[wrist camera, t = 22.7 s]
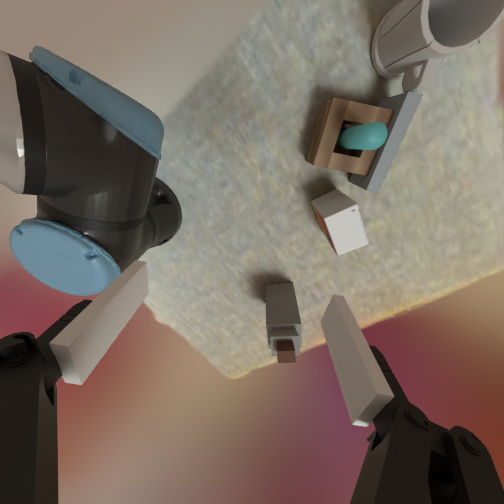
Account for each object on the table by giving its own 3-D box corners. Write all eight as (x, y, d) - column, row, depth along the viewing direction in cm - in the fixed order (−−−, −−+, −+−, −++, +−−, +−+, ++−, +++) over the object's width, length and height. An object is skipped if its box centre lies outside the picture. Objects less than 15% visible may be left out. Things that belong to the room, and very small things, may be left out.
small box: (309, 200, 43) (322, 217, 34) (337, 188, 42) (358, 202, 33) (322, 233, 47) (337, 257, 37) (348, 222, 45) (370, 244, 36)
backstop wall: (348, 181, 41) (366, 190, 34) (379, 100, 35) (408, 91, 28) (358, 183, 41) (378, 192, 34) (391, 103, 35) (423, 94, 28)
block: (306, 161, 40) (313, 165, 34) (322, 103, 36) (333, 97, 30) (352, 170, 40) (367, 176, 35) (374, 114, 36) (395, 110, 30)
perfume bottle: (267, 304, 57) (269, 368, 41) (265, 283, 54) (266, 345, 38) (293, 303, 56) (305, 368, 40) (292, 282, 53) (305, 343, 37)
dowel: (329, 146, 37) (357, 147, 26) (335, 126, 36) (367, 119, 25) (346, 149, 37) (380, 152, 27) (352, 130, 36) (391, 124, 25)
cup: (444, 61, 33) (532, 25, 22) (385, 105, 35) (437, 91, 25) (422, -19, 29) (515, -109, 18) (358, 37, 32) (406, -13, 21)
